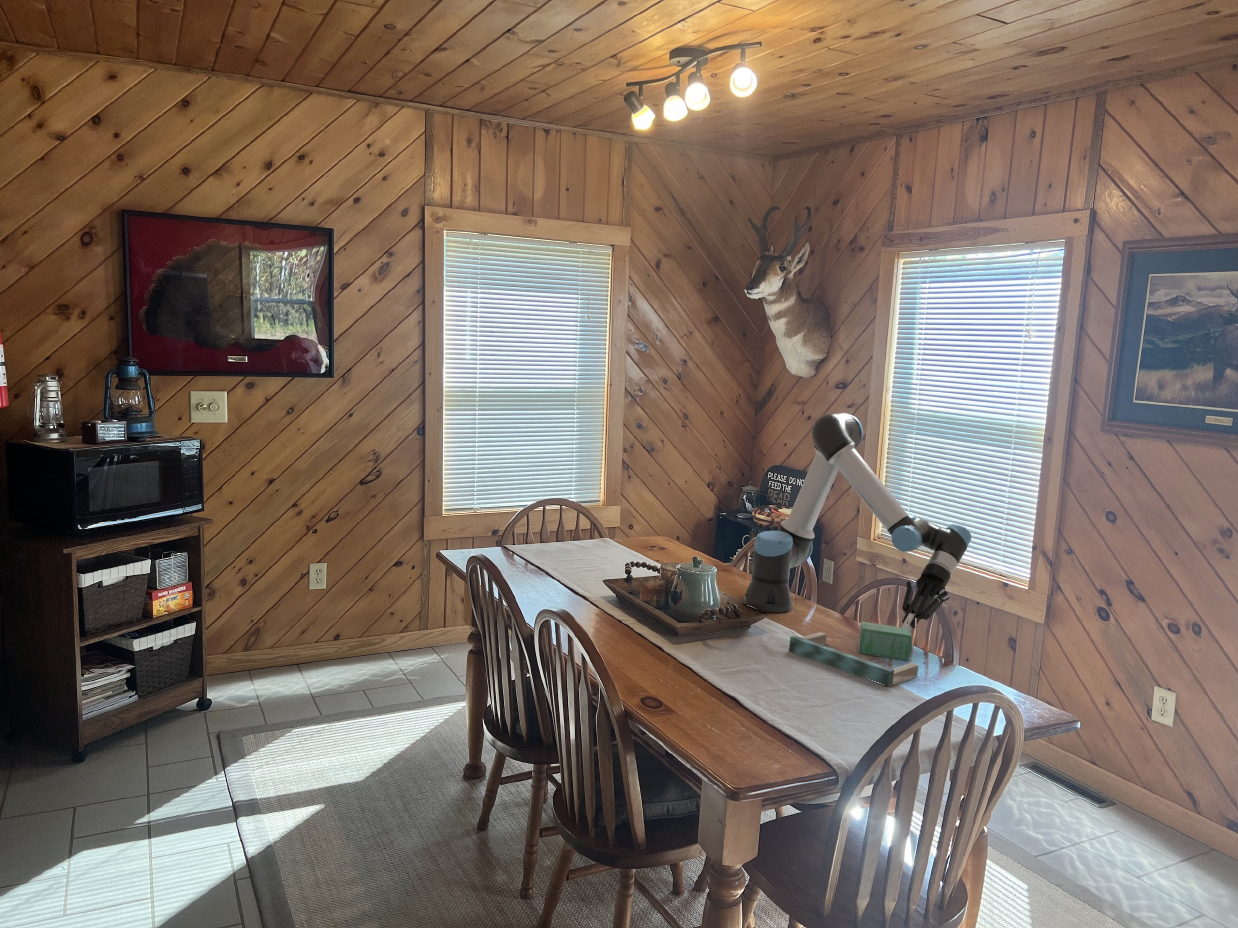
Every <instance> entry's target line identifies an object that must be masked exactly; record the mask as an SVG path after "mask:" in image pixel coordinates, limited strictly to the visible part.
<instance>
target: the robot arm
mask: <svg viewBox="0 0 1238 928" xmlns="http://www.w3.org/2000/svg"><path fill="white" fill-rule="evenodd" d="M863 438H864V428H863V425H862V423H861V421H860V420H859V419H858V418H857V417H856V416H854V415H852V414H850V413H846V412H838V413H826V414H823V415H821V416H820V417H818V418H816V420H815V422H814V423H813V425H812V427H811V439H812V442H813V449H814V452H815V455H814V457H813V459H812V462H811V464H810V466H809V469H808V471H807V472H806V473H807V474H806V477H805V478H804V481H803V482H802V486H801V487H800V490H799V493H798V495H797V497H796V500H795V501H794V504H793V506H792V508H791V511H790V514H789V516H788V518H787V519H785V520H782V521H781V523H780V524H779V527H778V529H777V530H769V531H767V530H765V531H761V532H759V533H758V534H757V535H756V537H755V540H754V545H753V558H752V571H751V580H750V582H749V584H748V588H747V589H746V592H745V594H744V597H743V605H744V604H746V605H749V606H752V607H754V608H756V609H758V610H757V611H759V610H762V611H761V612H765V613H774V614H775V613H778V614H779V613H787V612H790V611H791V610H792V607H793V600H792V597H791V590H790V587H789V580H790V570H791V569H793V568H794V567H798V566H801V565H803V564H804V563H806V561H807V560H808V559H809V558H810V557H811V554H812V552H813V541H814V539H815V537H816V536H815V533H814V530H813V529H814V527H815V525H816V524H817V523H816V522H817V520H818V518H819V515H820V513H821V511H822V509H823V507H824V504H825V502H826V499H827V497H828V495H829V493H830V492H831V488H832V486H833V484H834V481H835V479H836V477H837V474H838V473H839V472H840V473H841V474H842V476H843V477H844V478H845V479H846V481H847V483H849V484H850V486H851V487H852V488H853V489H854V491H855V492H856V494H857V496H859V498H860V499H861V500H862V501H863V502H864V503H865V505H866V506H867V508H869V510H870V511H871V513H873V515H874V517H876V519H877V520H878V522H880V524H882V526H883V527H884V528H885V530H886V531H887V532H888V534H889V535H890V537H891V542H892V546H893V547H894V548H895V549H896V550H898V551H899V552H900V551H901V552H904V553H908V552H913V551H915V550H918V549H919V548H920V547H924V548H926V549H929V550H930V551H933V553H932V554H931V556H930V557H929V560H928V561H927V564H926V565H925V567H924V568H923V570H922V571H921V574H920V576H919V578H918V579H916V581H914V582H911V581H907V582H906V591H905V595H904V598H903V603H902V606H901V609H902V611H903V613H904V616H903V619H902V620H901V623H902V626H900V627H901V628H908V629H910V632H912V630H913V629H915V628H916V627H915V618H917V625H919V622H920V621H921V620H925V621H927V620H929V619H930V618H931V616H933V614H934V613H935V612H936V611H937V610H938V609H939V608H940V607H941V606H942V605H943V604H944V602H946V601H948V600H950V596H949V593H948V591H947V590H946V587H947V585H948V583H949V581H950V580H951V578H952V577H951V576H952V575H953V574H954V572H955V570H956V569H957V567H958V565H959V564H960V562H961V560H962V558H963V556H964V555H965V553H966V551H967V549H968V547H969V545H970V542H971V540H972V534H971V532H970V530H969V529H967V527H965V526H963V525H961V524H955V523H952V524H949V525H948V526H947V527H942V526H940V525H937V524H934V522H930V521H928V520H925V519H923V518H921V517H919V516H916V515H912V514H909V513H907V512H906V510H905V509H904V508H903V507H902V505H901V504H900V503H899V502H898V501H897V500H896V498H895V497H894V496H893V494H892V493H891V492H890V491H889V489H888V488H887V487H886V486H885V484H884V483H883V482H882V481H881V479H880V478H879V477H878V476H877V475H876V473H875V472H874V471H873V470H872V468H871V467H870V466H869V464H867V462H866V461H865V460H864V458H863V457H861V454H860V453H859V452H858V451H857V450H856V448H857V447H858V446H859V444H861V442H862V440H863ZM915 591H916V593H915V595H914V592H915ZM913 596H914V597H913ZM937 598H938V599H939V600H940V602H939V600H938V599H937ZM746 605H745V606H746ZM908 619H909V620H908ZM907 621H908V624H907Z"/></svg>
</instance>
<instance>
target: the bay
mask: <svg viewBox="0 0 1238 928" xmlns="http://www.w3.org/2000/svg"><path fill="white" fill-rule="evenodd" d="M826 642H827V633H825V632H819V631H818V632H816V633H812V634H808V635H804V636H801V637H800V636H797V635H792V636H790V637H789V645H788V646H789V648H788V652H791V653H793V654H796V655H798V656H802V657H804V658H806V659H809V660H812V661H816V662H818V663H821V664H822V665H823V664H824V665H825V666H829V667H832V668H833V669H837V670H840V671H842V670H843V672H846V673H847V674H850V673H851V675H853V674H854V675H853V676H856V675H857V676H856V677H859V676H860V677H859V678H861V677H863V678H862V679H864V678H867V679H870V680H873V681H876V682H879V683H881V684H884V685H885V686H884V687H886V686H890V685H893V684H895V685H897V683H898V684H901V683H903V682H905V681H908V680H911V679H914V678H917V677H918V673H919V664H917V663H914V662H909V663H907V664H904V665H901V666H897V667H895V668H889V667H886V666H884V665H880V664H879V663H875V662H871V661H869V660H866V659H863V658H860V657H858V656H855V655H851V654H849V653H847V652H843V651H841V650H839V649H835V648H832V647H829V646H826ZM867 679H866V680H867ZM870 680H869V681H870ZM881 684H880V685H881ZM893 686H894V685H893ZM890 687H891V686H890Z"/></svg>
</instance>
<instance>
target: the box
mask: <svg viewBox="0 0 1238 928" xmlns="http://www.w3.org/2000/svg"><path fill="white" fill-rule="evenodd" d="M901 627H902V626H900V627H899V626H892V625H888V624H880V623H874V622H867V621H861V622H860V628H859V635H858V642H857V644H858V645H857V650H858V651H857V652H859V653H858V654H862V655H869V656H876V657H880V658H881V657H883V658H887V657H888V658H889V659H894V660H902V661H906V662H909V661H910V658H911V654H912V650H913V636H912V631H910V629H908V628H901Z"/></svg>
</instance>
